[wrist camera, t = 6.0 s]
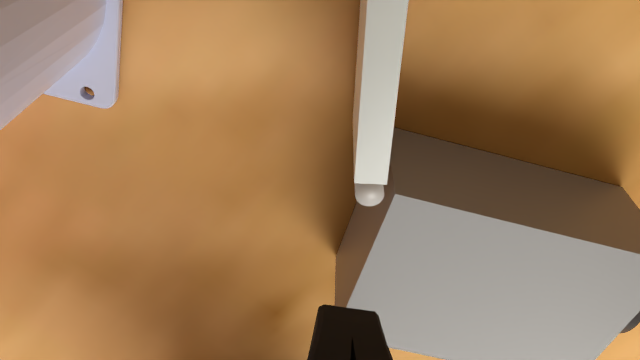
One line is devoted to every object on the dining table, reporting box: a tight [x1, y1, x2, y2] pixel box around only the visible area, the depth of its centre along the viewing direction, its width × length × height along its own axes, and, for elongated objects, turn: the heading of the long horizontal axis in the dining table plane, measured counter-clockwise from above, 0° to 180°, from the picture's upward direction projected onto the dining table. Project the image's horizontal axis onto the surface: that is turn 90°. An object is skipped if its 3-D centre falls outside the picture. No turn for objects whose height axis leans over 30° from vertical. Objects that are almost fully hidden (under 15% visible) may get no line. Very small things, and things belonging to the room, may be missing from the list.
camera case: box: [335, 128, 640, 360], centre depth 20 cm, size 11×7×4 cm, turn 75°
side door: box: [353, 0, 409, 206], centre depth 15 cm, size 10×2×4 cm, turn 179°
